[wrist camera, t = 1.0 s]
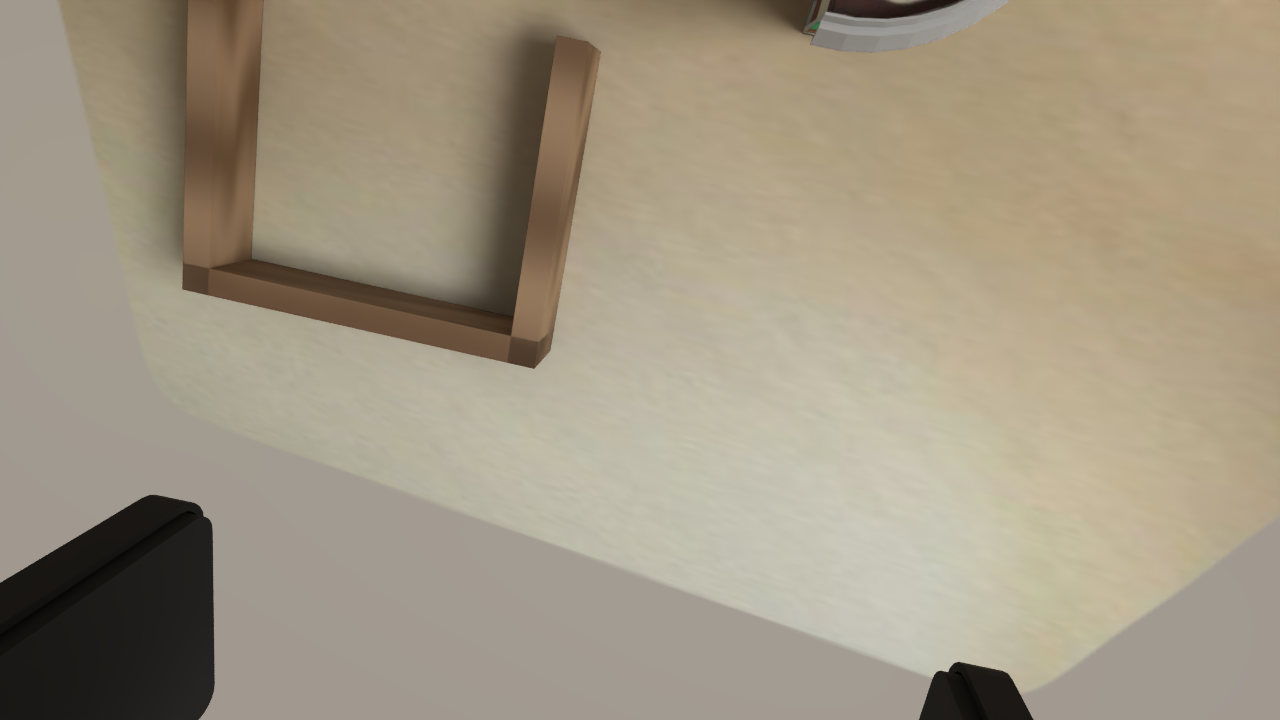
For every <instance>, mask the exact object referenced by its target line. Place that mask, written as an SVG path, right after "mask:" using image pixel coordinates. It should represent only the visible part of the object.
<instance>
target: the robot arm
mask: <svg viewBox="0 0 1280 720" xmlns="http://www.w3.org/2000/svg"><path fill="white" fill-rule="evenodd" d="M212 532H213V531H212V524H211V522H210V520H209V519H208V518H206V517H204V516H203V511H202V509H201V508H200V506H199V505H197V504H195V503H192V502H187V501H183V500H178V499H173V498H168V497H163V496H158V495H149V496H146V497H144V498H142V499H140V500H138V501H137V502H135V503H133V504H131V505H130V506H128V507H126V508H125V509H123V510H121V511H120V512H118V513H116V514H115V515H113V516H111V517H110V518H108V519H106V520H105V521H103V522H101V523H100V524H98V525H97V526H95V527H93V528H92V529H90V530H88V531H86V532H85V533H83V534H81V535H80V536H78V537H76V538H75V539H73V540H71V541H70V542H68V543H66V544H65V545H63V546H61V547H59V548H58V549H56V550H54V551H53V552H51V553H49V554H48V555H46V556H45V557H43V558H41V559H39V560H38V561H36V562H35V563H33V564H31V565H29V566H28V567H26V568H24V569H23V570H21V571H19V572H18V573H16V574H14V575H13V576H11V577H9V578H8V579H6V580H4V581H3V582H1V583H0V720H198V719H199V718H200V717H201V716H202V715H203V713H204V712H205V710H206V709H207V707H208V705H209V703H210V700H211V698H212V695H213V692H214V684H215V681H214V608H213V607H214V606H213V535H212V534H213V533H212ZM919 720H1033V718H1032V716H1031V714H1030V712H1029V711H1028V709H1027V707H1026V705H1025V703H1024V701H1023V699H1022V697H1021V695H1020V693H1019V691H1018V690H1017V688H1016V686H1015V684H1014V682H1013V680H1012V679H1011V677H1010V676H1009V674H1008V673H1006V672H1004V671H1000V670H995V669H990V668H986V667H981V666H976V665H971V664H966V663H961V662H957V663H954V664H953V665H952V666H951V667H950V669H949V672H944V671H938V672H937V673H936V674H935V675H934V677H933V679H932V682H931V685H930V688H929V691H928V694H927V697H926V700H925V704H924V707H923V709H922V712H921V715H920V718H919Z"/></svg>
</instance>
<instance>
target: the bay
mask: <svg viewBox="0 0 1280 720" xmlns="http://www.w3.org/2000/svg"><path fill="white" fill-rule="evenodd" d="M262 15H263V0H188V31H187V82H186V133H185V184H184V235H183V286H182V289H183V290H188V291H192V292H196V293H201V294H205V295H210V296H214V297H219V298H223V299H227V300H232V301H236V302H241V303H245V304H250V305H254V306H259V307H263V308H267V309H272V310H276V311H281V312H285V313H290V314H294V315H298V316H303V317H307V318H312V319H316V320H321V321H325V322H329V323H334V324H338V325H343V326H347V327H352V328H356V329H360V330H365V331H369V332H374V333H378V334H383V335H387V336H391V337H396V338H400V339H405V340H409V341H414V342H418V343H422V344H427V345H431V346H436V347H440V348H445V349H449V350H453V351H458V352H462V353H467V354H471V355H476V356H480V357H485V358H489V359H493V360H498V361H502V362H507V363H511V364H516V365H520V366H524V367H529V368H533V369H534V368H535V367H536V366H537V365H538V364H539V363H540V362H541V360H542V359H543V358H544V357H545V356H546V355H547V354H548V353H549V352H550V349H551V343H552V337H553V331H554V325H555V319H556V313H557V307H558V301H559V295H560V290H561V284H562V278H563V272H564V266H565V260H566V254H567V248H568V242H569V236H570V230H571V224H572V219H573V213H574V207H575V201H576V195H577V189H578V183H579V177H580V171H581V165H582V159H583V153H584V148H585V142H586V136H587V130H588V124H589V118H590V112H591V106H592V100H593V94H594V88H595V82H596V77H597V71H598V65H599V59H600V53H601V52H600V51H599V50H598V49H596V48H595V47H594V46H592V45H591V44H590V43H589V42H586V41H581V40H576V39H571V38H566V37H561V36H557V38H556V45H555V51H554V58H553V64H552V71H551V78H550V84H549V91H548V97H547V104H546V110H545V117H544V124H543V130H542V137H541V143H540V150H539V156H538V163H537V169H536V176H535V183H534V189H533V196H532V202H531V209H530V215H529V222H528V229H527V235H526V242H525V248H524V255H523V261H522V268H521V275H520V281H519V288H518V294H517V301H516V307H515V314H514V317H510V316H505V315H501V314H496V313H492V312H487V311H483V310H478V309H474V308H469V307H465V306H460V305H456V304H451V303H447V302H442V301H438V300H433V299H429V298H424V297H420V296H415V295H411V294H406V293H402V292H397V291H393V290H388V289H384V288H379V287H375V286H370V285H366V284H361V283H357V282H352V281H348V280H343V279H339V278H334V277H330V276H325V275H321V274H316V273H312V272H307V271H303V270H298V269H294V268H289V267H285V266H280V265H276V264H271V263H267V262H262V261H258V260H253V259H251V253H252V231H253V210H254V188H255V167H256V145H257V123H258V102H259V80H260V58H261V37H262Z"/></svg>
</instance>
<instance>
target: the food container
mask: <svg viewBox="0 0 1280 720" xmlns="http://www.w3.org/2000/svg"><path fill="white" fill-rule="evenodd" d="M1008 1H1009V0H814V2H813V5H812V8H811V11H810V14H809V17H808V20H807V22H806V25H805V28H804V31H803V34H807V35H812V36H813V38H812V41H811V44H810V45H814V46H819V47H823V48H828V49H833V50H837V51H849V52H869V53H874V52H883V51H892V50H901V49H908V48H911V47H915V46H919V45H922V44H926V43H930V42H933V41H937V40H940V39H942V38H944V37H947V36H949V35H951V34H953V33H956V32H958V31H960V30H962V29H965V28H967V27H969V26H971V25H973V24H975V23H976V22H978V21H979V20H981V19H983V18H984V17H986V16H987V15H989V14H991V13H992V12H994V11H995V10H997V9H999V8H1000V7H1002V6H1003V5H1004V4H1005V3H1007V2H1008Z"/></svg>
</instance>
